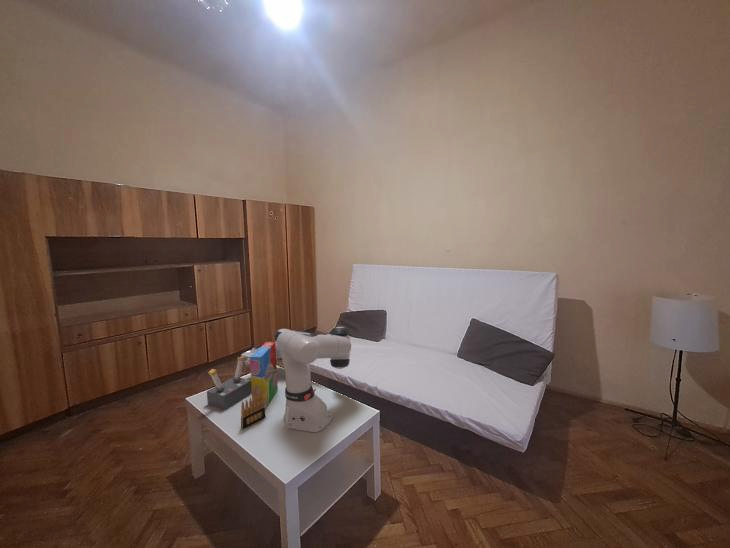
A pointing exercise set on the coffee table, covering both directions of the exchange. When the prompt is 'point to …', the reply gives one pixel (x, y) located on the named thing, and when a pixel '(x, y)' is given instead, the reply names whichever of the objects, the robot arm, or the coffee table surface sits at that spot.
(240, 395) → the switch box
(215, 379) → the lever
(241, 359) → the lever
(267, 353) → the game box
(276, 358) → the robot arm
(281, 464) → the coffee table surface
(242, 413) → the ammunition clip
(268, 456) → the coffee table surface
